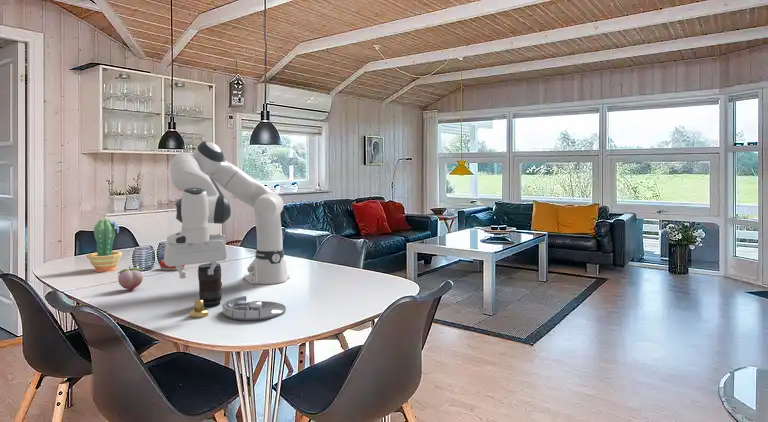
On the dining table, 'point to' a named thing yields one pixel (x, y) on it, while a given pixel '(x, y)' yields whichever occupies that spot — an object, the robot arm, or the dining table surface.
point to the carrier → (251, 309)
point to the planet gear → (198, 310)
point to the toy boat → (165, 267)
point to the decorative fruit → (130, 278)
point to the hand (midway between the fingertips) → (196, 276)
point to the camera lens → (210, 285)
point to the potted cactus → (105, 247)
